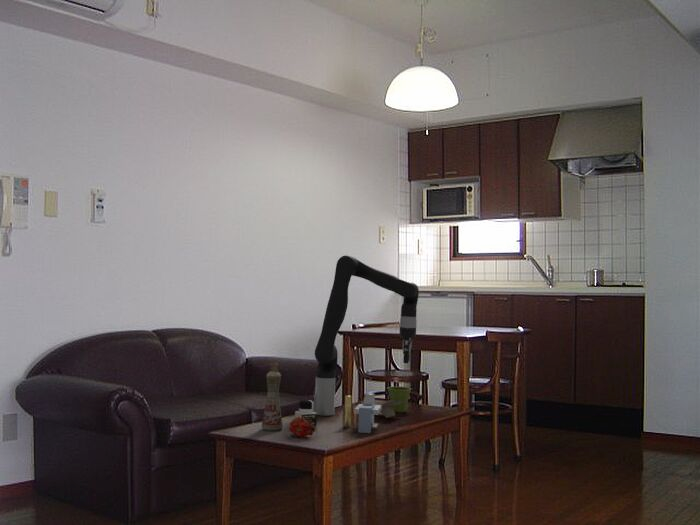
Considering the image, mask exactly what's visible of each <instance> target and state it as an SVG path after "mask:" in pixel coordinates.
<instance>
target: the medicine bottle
mask: <svg viewBox="0 0 700 525" xmlns="http://www.w3.org/2000/svg"><path fill="white" fill-rule="evenodd" d="M297 417H299V418H302V417H303V418H305V419H306V420H308V421H310V422H311V423H312V425H313V426H314V428H315V431H316V430H317V429H318V426H317V425H318V415H317V413H315V412H314V400H311V399H301V400H299V403H298V410H296V411H294V418H297Z"/></svg>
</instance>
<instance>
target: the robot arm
mask: <svg viewBox="0 0 700 525" xmlns="http://www.w3.org/2000/svg"><path fill="white" fill-rule="evenodd" d="M336 261H337V262H336V264H335V272H334V277H333V278H334V279H333V282H332V283H333V285H332V286H331V291H330V295H329V298H328V301H327V302H328V303H327V305H326V309H325V315H324V319H323V323H322V328H321V332H320V335H319V337H318V338H319V339H318V341H317V343H316V346H315V348H314V357H315V359H316V361H317V368H316V371H315V390H314V391H315V393H314V396H313V402H314V405H313V412H315V413H317V416H323V417H324V416H327V417H328V416H334V415H335V409H336V408H335V402H336V401H335V400H336V396H335V395H336V375H337V374H336V373H337V369H338V357H339V356H338V348H337V346H336V345H335V342H336V338H337V335H338V333H339V331H340V328H341V327H342V325H343V322H344V320H345V318H346V313H347V309H348V305H349V285H350V282H351V278H352V277H357V278H361V279H364V280H366V281H368V282H371V283H372V284H374V285H376V286H378V287H380V288H382V289H385V290H387V291H391V292H393V293H395V294H398V295H399V296H401V297H403V302H402V305H401V308H400V320H399V337H401V338H403V339H404V340H403V341H402V351H403V352H402V354H403V362H402V363H403V364H408V363H409V362H410V357H411V354H410V353H411V350H412V343H413V340H412V338H416V336H417V322H418V321H417V307H418V306H417V305H418V301H419V286H418V285H417V283H414V282H408V281H405V280H403V279H400V278H399V277H397V276H395V275H393V274H390V273H388V272H385V271H383V270H380V269H377V268H374V267H372V266H369V265H367V264H366V263H364V262H362V261H361V260H358V259H357V258H356V257H355V256H352V255H348V254H347V255H343V256H341V257H339V258H338V260H336Z"/></svg>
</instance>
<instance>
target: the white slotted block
mask: <svg viewBox="0 0 700 525" xmlns="http://www.w3.org/2000/svg"><path fill="white" fill-rule="evenodd" d="M401 402H402V401H399V402H395V401H390V400H388V401H386V402H383V403H381V404H380V405H382V410H381V411H380V413H382V415H383V416H384V417H385V418H386V419H391V418H393V417H394V416H396V412H394V409H393V406H395V405H397V404H400V403H401Z"/></svg>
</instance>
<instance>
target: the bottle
mask: <svg viewBox="0 0 700 525" xmlns="http://www.w3.org/2000/svg"><path fill="white" fill-rule="evenodd" d="M269 366H270V367H269V368H270V371H268V372H267V373H266V376H265V377H266V387H267V394H266V399H265V406H264V410H263V416H262V417H263V418H262V421H261V422H262V423H261V428H262V429H263V431H271V432H274V431H281V430H283V427H284V424H283V418H282V410H281V402H280V395H279V394H280V393H279V391H280V384H281V379H282V374H281V373H280V372H279V363H278V362H275V361H274V362H270V364H269Z"/></svg>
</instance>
